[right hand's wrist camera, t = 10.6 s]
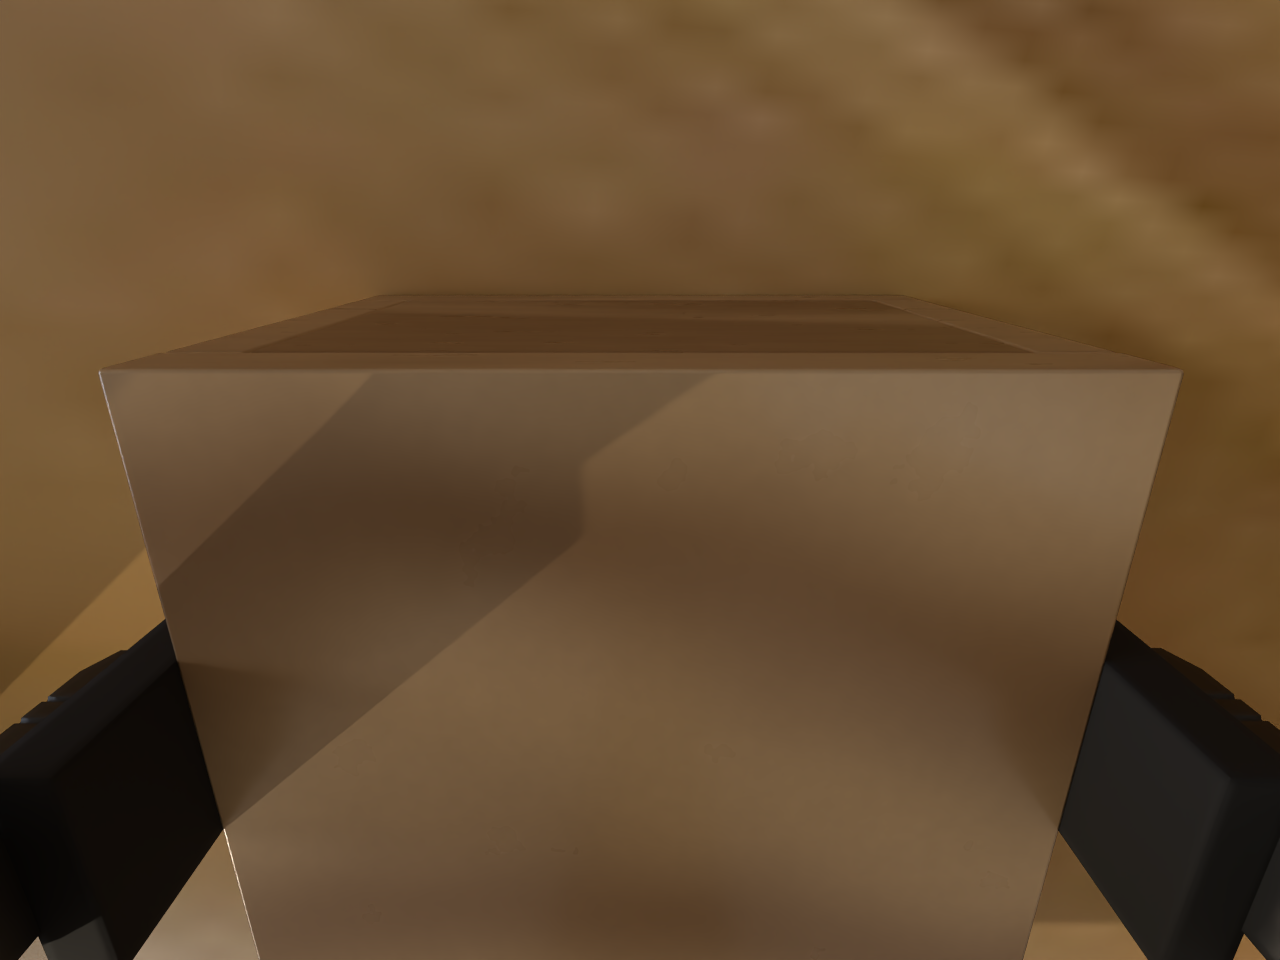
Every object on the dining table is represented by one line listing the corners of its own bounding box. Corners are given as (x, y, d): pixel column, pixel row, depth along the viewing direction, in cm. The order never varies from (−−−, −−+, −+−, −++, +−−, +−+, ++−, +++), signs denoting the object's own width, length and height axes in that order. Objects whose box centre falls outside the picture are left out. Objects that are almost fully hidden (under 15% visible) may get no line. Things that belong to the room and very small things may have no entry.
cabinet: (830, 876, 21) (942, 1260, 13) (450, 876, 21) (338, 1258, 13) (905, 295, 15) (1187, 369, 7) (376, 295, 15) (94, 369, 7)
